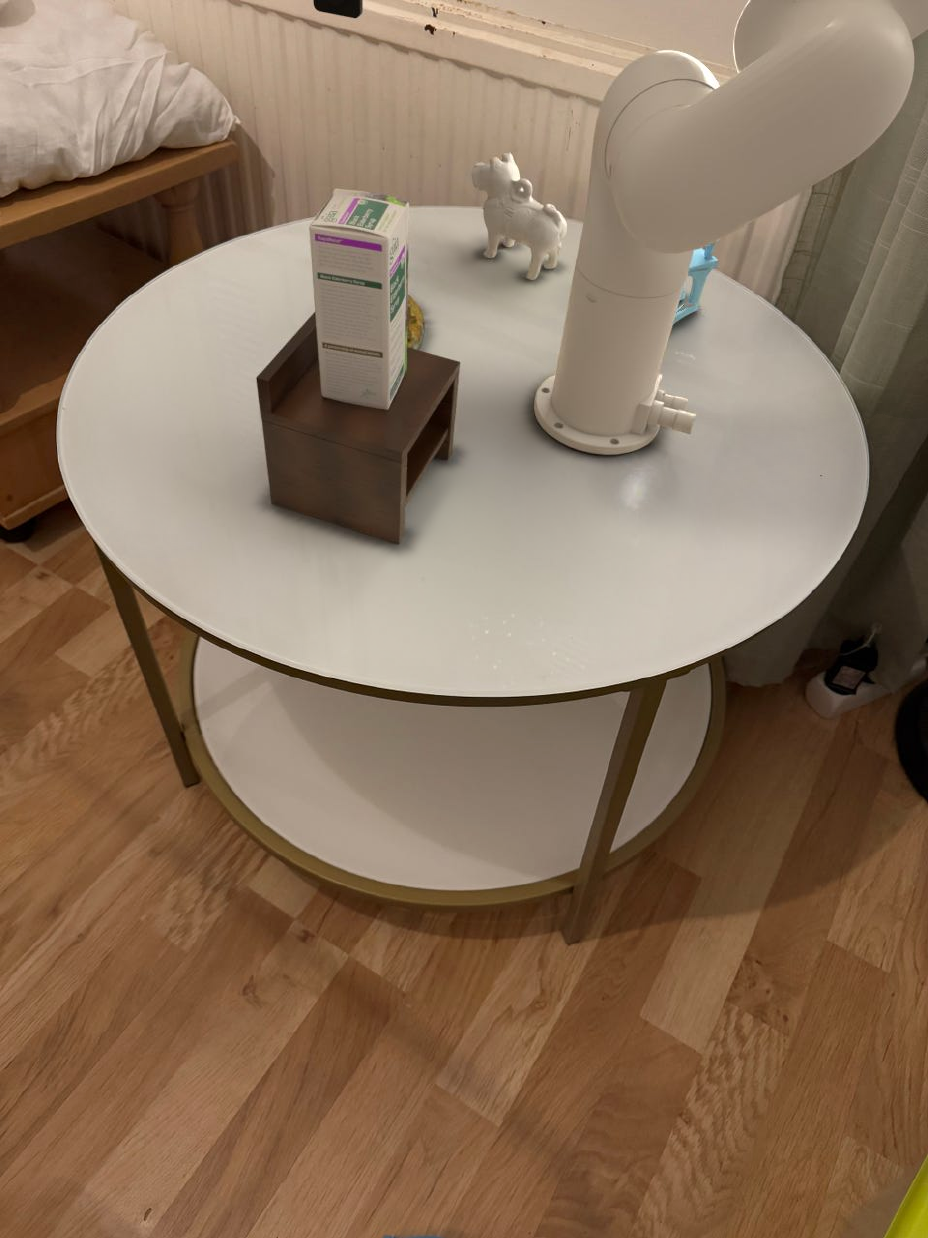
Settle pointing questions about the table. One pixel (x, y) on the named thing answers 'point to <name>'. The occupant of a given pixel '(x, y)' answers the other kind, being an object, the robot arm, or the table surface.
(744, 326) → the table surface
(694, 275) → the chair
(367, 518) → the shelf
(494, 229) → the dog figurine
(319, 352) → the syrup box
